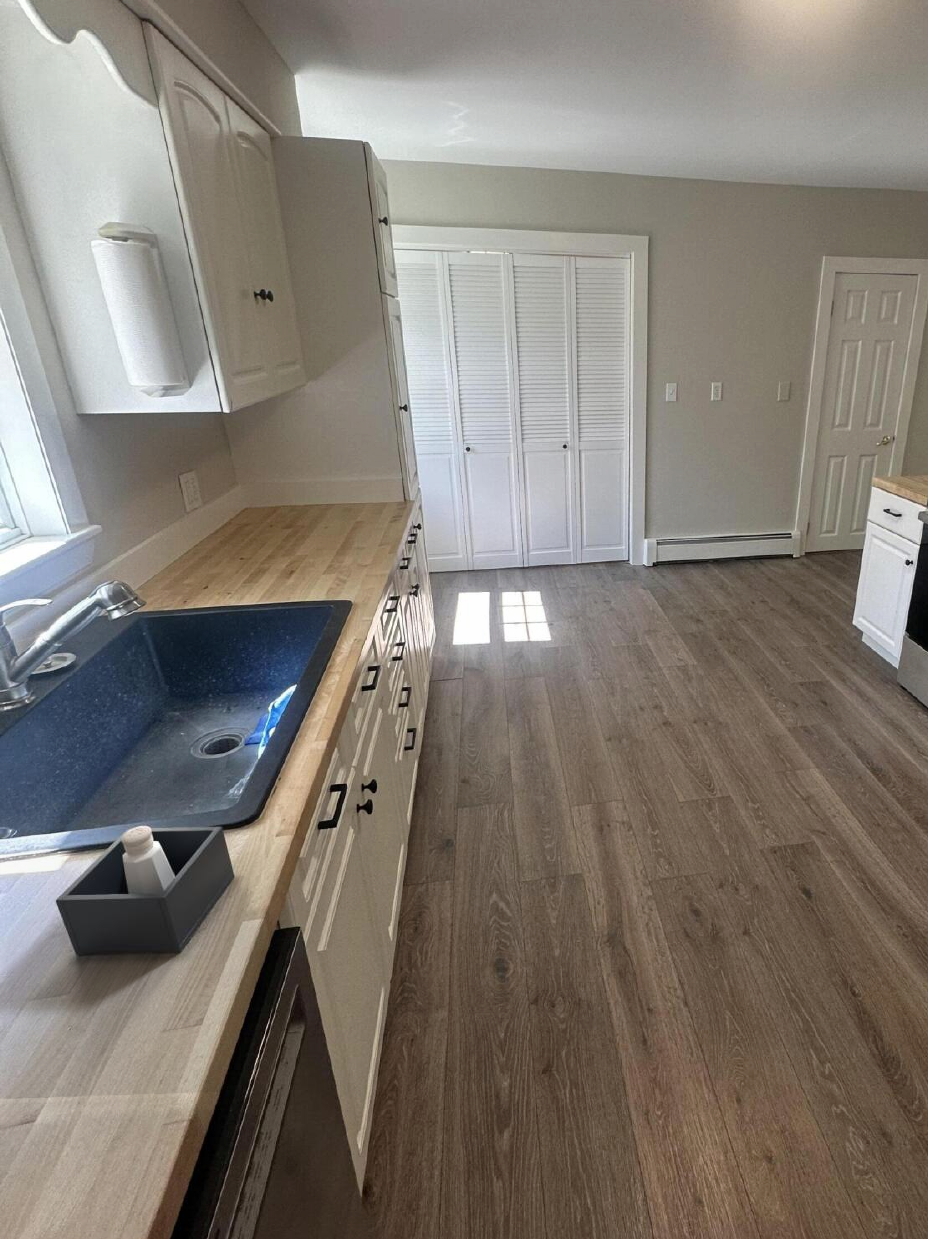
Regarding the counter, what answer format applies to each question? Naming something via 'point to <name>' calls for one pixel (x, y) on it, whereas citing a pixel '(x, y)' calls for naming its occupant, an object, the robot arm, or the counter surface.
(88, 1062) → the counter surface
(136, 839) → the pepper shaker
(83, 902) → the bin
